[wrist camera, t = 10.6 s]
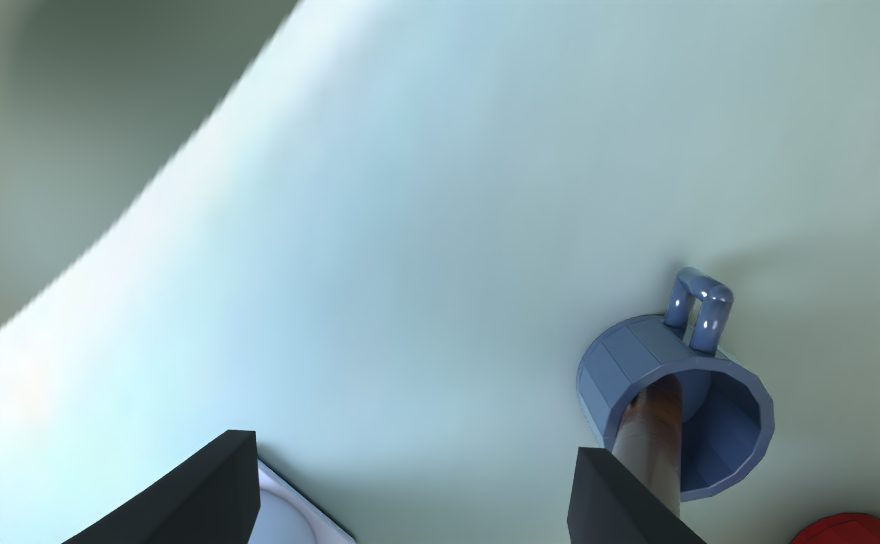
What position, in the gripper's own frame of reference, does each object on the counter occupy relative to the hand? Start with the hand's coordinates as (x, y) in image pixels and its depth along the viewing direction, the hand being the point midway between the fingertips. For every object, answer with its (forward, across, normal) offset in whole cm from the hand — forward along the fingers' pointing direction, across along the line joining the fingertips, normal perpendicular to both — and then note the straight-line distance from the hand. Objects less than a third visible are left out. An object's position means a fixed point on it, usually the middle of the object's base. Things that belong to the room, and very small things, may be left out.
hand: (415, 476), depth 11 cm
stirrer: (+10, -10, +3) cm, 14 cm away
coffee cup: (+10, -10, +2) cm, 14 cm away
